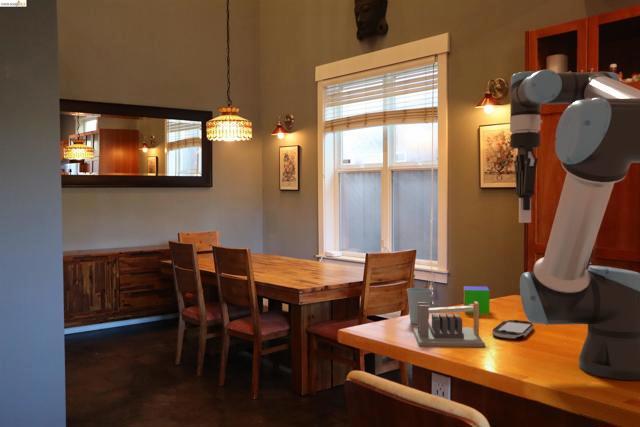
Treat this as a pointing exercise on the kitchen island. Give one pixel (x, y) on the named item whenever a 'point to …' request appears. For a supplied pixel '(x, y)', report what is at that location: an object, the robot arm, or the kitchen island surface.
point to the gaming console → (512, 330)
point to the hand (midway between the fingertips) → (524, 222)
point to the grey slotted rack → (446, 329)
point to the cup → (415, 297)
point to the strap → (451, 309)
